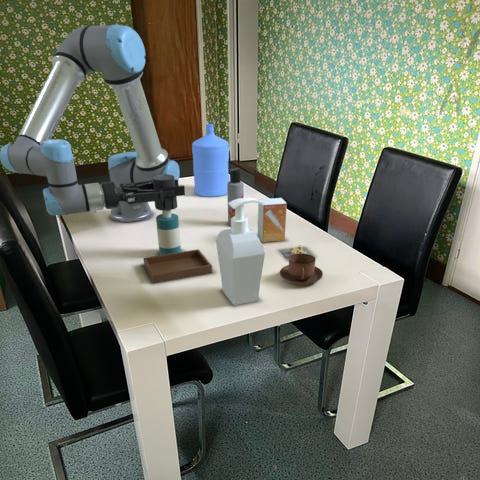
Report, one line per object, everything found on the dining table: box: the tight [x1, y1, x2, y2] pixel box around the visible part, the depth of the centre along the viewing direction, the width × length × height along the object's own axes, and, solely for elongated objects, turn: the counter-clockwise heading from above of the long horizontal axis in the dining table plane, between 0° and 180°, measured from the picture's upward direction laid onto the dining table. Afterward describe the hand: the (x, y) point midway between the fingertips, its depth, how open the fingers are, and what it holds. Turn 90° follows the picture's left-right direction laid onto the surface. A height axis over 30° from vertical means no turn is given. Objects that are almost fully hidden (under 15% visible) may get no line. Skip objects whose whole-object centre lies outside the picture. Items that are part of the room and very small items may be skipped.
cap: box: [152, 174, 178, 212], centre depth 138 cm, size 6×6×9 cm
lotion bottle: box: [226, 167, 244, 227], centre depth 165 cm, size 6×6×20 cm
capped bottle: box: [155, 210, 182, 255], centre depth 144 cm, size 7×7×15 cm
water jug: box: [191, 123, 230, 198], centre depth 198 cm, size 16×16×28 cm
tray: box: [142, 248, 213, 284], centre depth 137 cm, size 13×17×2 cm
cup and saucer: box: [279, 253, 324, 286], centre depth 130 cm, size 12×12×6 cm
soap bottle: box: [215, 197, 266, 306], centre depth 117 cm, size 12×10×26 cm
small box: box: [257, 197, 288, 243], centre depth 155 cm, size 8×6×13 cm
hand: (181, 187), depth 139 cm, fingers closed on cap, 6 cm apart
